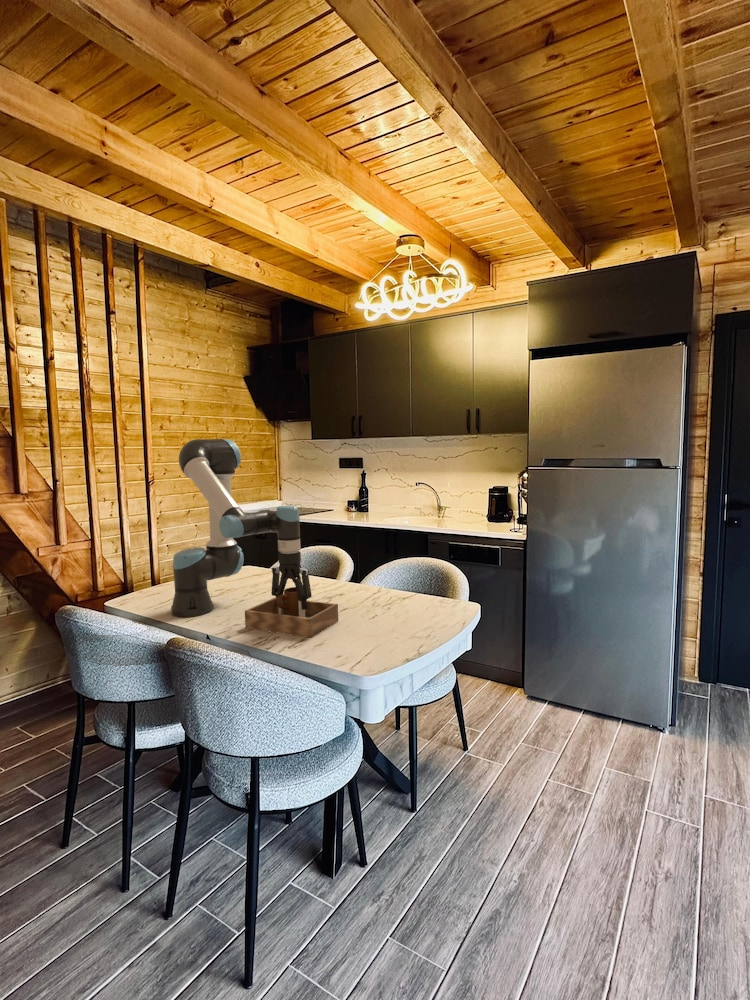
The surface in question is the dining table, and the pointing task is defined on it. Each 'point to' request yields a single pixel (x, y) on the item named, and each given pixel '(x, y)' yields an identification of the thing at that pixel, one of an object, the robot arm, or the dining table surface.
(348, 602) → the dining table surface
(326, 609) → the crate
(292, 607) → the mug
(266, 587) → the dining table surface
